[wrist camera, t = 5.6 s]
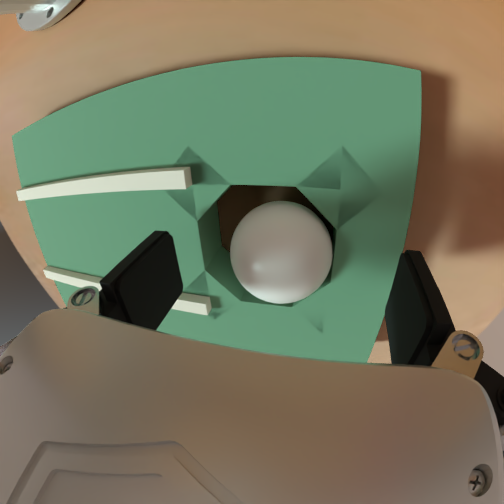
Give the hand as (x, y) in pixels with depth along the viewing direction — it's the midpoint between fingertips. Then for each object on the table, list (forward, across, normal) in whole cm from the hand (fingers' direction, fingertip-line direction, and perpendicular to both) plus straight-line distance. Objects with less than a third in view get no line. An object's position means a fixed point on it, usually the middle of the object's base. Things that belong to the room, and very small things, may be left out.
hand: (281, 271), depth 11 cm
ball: (+2, 0, 0) cm, 2 cm away
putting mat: (+4, +7, 0) cm, 8 cm away
